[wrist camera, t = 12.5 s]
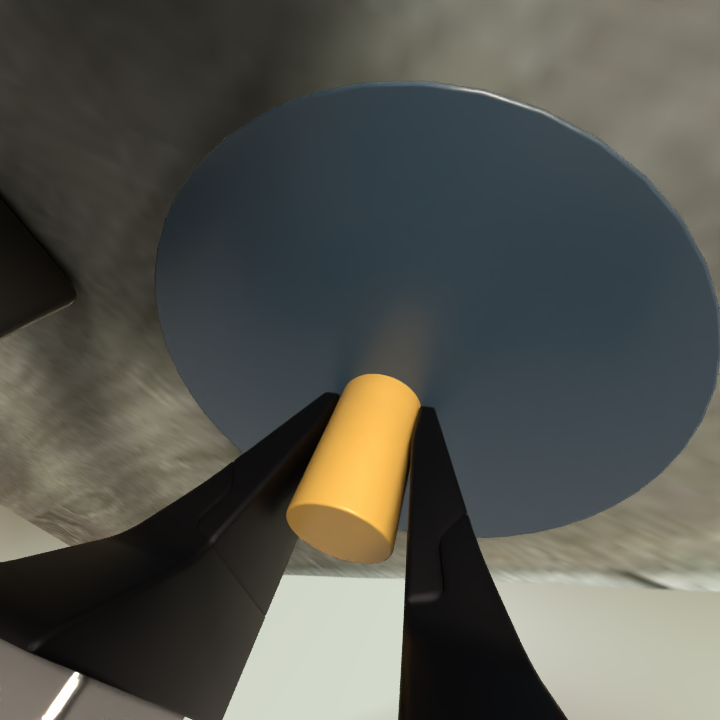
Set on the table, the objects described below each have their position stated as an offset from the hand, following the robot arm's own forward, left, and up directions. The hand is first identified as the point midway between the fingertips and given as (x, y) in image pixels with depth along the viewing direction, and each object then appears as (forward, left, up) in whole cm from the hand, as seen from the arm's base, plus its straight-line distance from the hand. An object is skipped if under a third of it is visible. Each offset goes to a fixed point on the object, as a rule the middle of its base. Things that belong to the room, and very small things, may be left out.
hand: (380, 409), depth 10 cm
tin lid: (0, 0, -1) cm, 1 cm away
